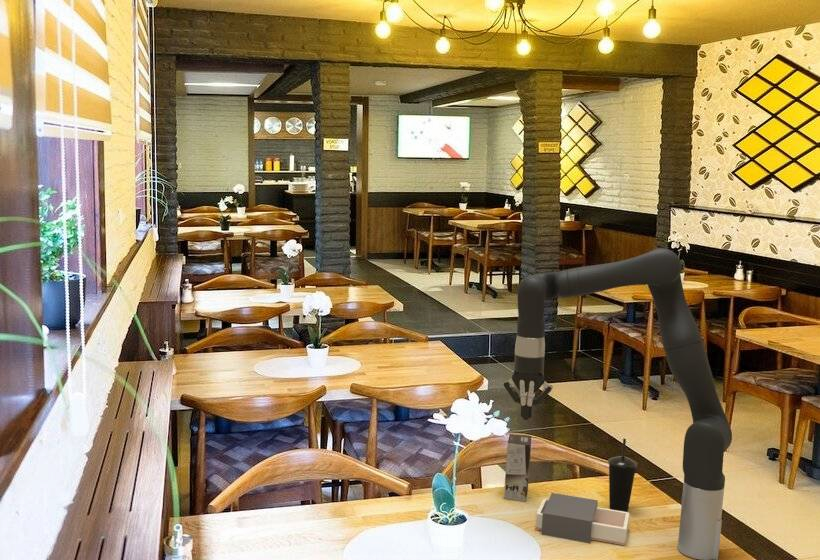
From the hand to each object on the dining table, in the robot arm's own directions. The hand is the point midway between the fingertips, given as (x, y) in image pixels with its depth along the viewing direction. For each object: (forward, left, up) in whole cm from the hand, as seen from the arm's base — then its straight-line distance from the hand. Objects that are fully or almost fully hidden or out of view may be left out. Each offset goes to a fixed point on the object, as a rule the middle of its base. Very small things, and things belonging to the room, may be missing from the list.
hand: (526, 419), depth 210 cm
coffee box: (+4, -15, -27) cm, 31 cm away
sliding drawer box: (-16, +1, -26) cm, 31 cm away
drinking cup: (-24, -16, -27) cm, 39 cm away
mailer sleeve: (-13, +1, -26) cm, 30 cm away
